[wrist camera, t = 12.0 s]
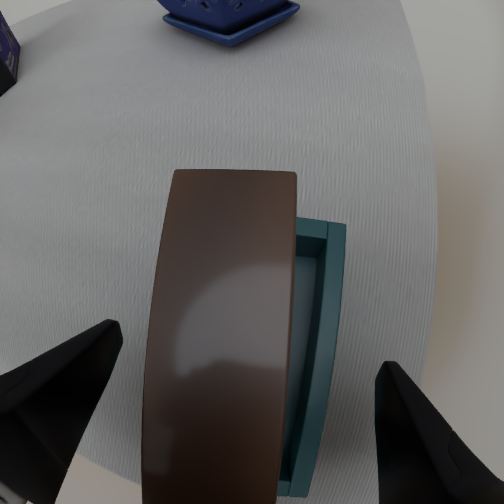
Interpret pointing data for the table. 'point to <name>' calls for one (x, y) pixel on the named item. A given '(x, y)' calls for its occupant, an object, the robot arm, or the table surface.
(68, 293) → the table surface
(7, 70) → the box
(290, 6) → the flower pot
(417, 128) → the table surface
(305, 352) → the holder
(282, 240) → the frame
